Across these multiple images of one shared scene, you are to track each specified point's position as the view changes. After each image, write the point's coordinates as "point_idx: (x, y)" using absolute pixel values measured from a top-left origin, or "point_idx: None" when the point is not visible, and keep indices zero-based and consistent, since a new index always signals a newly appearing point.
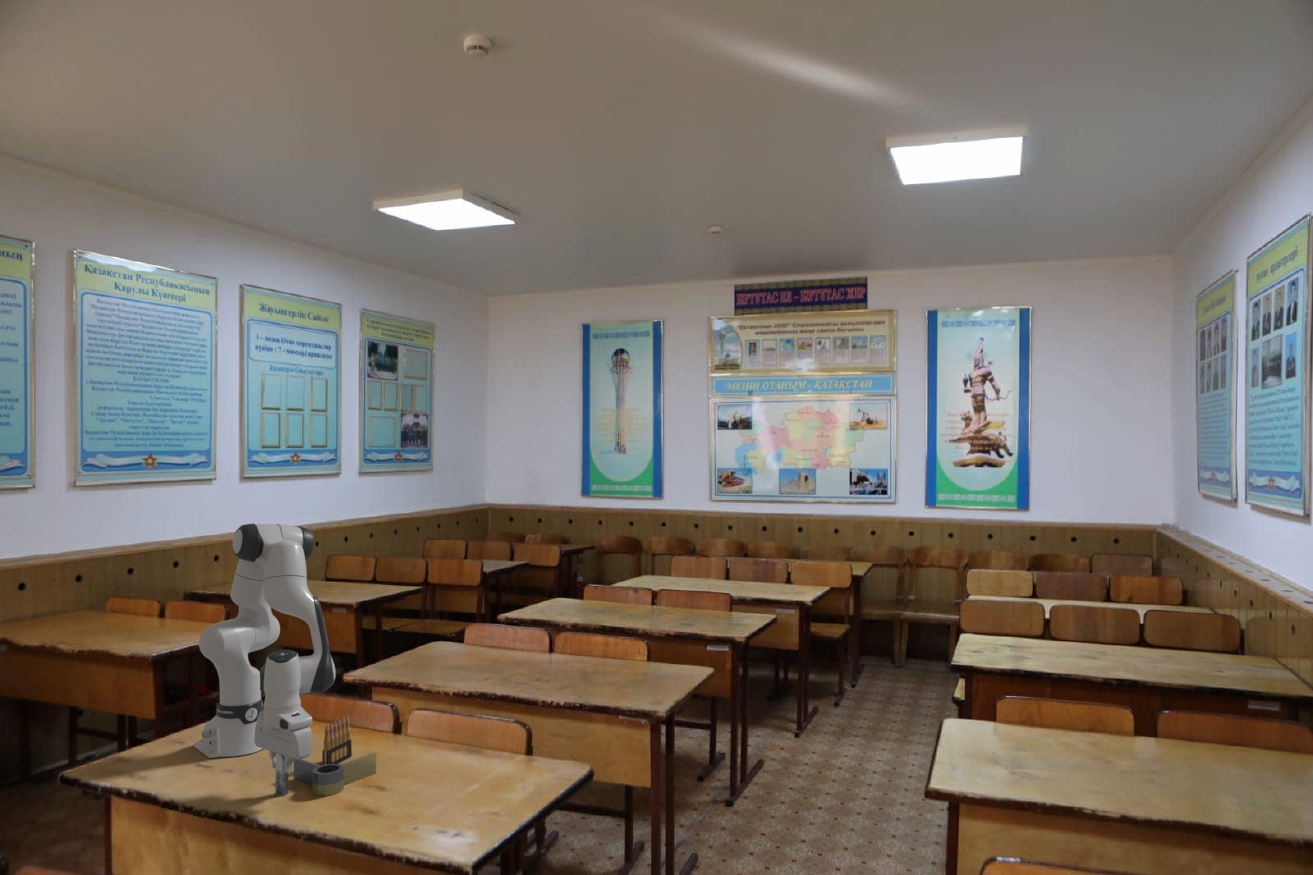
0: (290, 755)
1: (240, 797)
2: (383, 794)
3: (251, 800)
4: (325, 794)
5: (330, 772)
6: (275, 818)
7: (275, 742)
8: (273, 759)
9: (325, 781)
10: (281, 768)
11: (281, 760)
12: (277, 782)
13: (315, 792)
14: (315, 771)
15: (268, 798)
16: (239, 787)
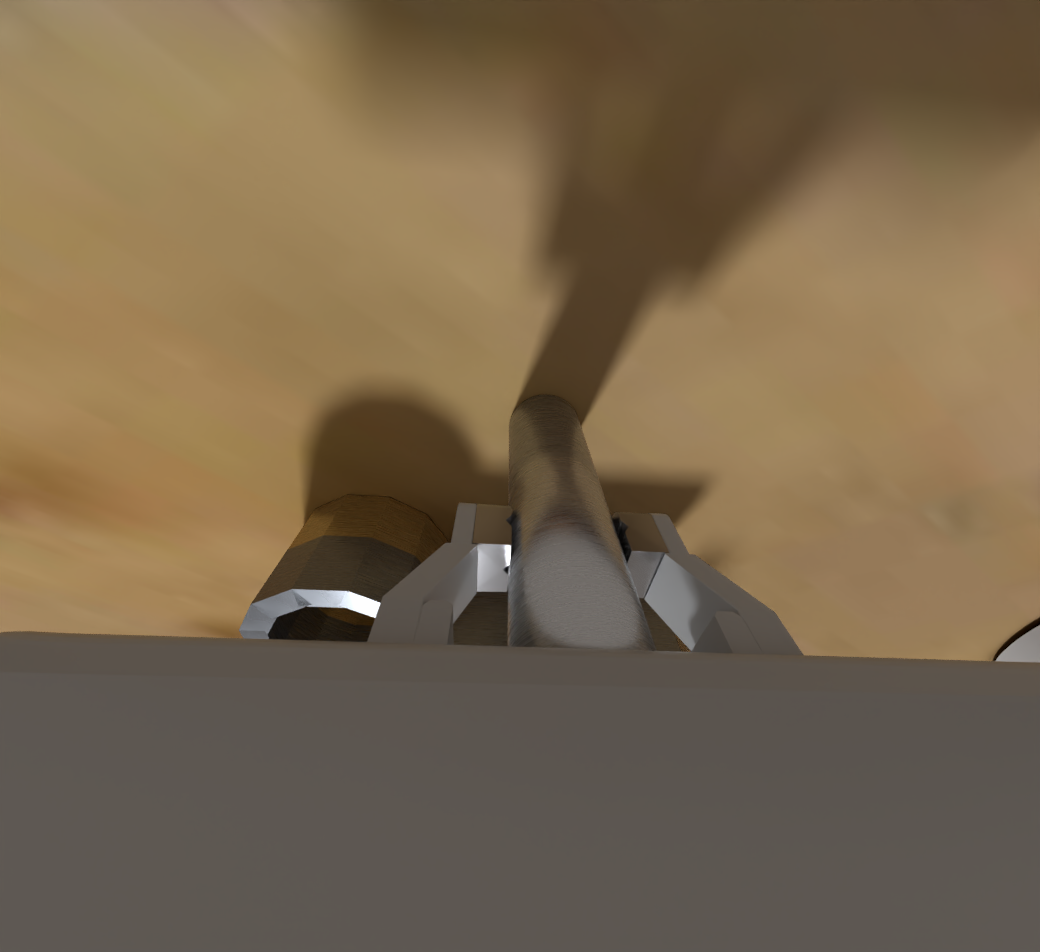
0: (141, 669)
1: (770, 246)
2: (152, 609)
3: (642, 250)
4: (312, 513)
5: (262, 626)
6: (103, 60)
7: (669, 889)
8: (682, 572)
9: (277, 565)
10: (523, 517)
11: (523, 579)
12: (546, 435)
13: (365, 503)
14: (357, 603)
15: (557, 340)
16: (886, 367)
